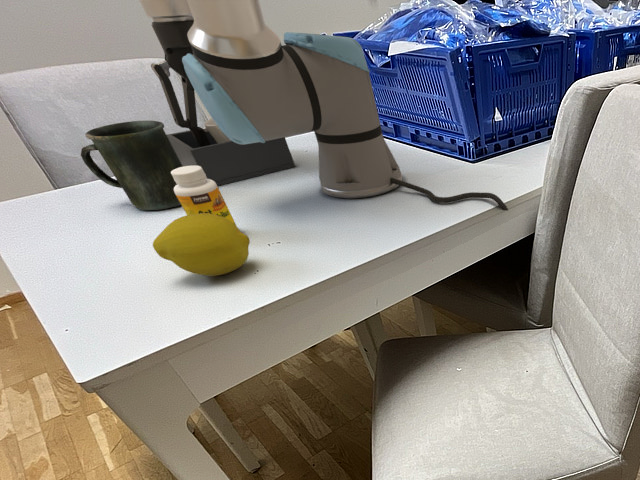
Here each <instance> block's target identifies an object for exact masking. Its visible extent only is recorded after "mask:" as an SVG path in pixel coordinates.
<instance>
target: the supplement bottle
mask: <svg viewBox="0 0 640 480" xmlns="http://www.w3.org/2000/svg"><path fill="white" fill-rule="evenodd" d="M171 174H172V176H173V178H174V181H175V182H176V184H177V185H176V186H175V187H174V192H175V194H176V196H177V198H178V200H179V202H180V203H181V205H180V206H181V207H182V209H183V211H184V212H185V215H191V214H200V213H209V214H215V215H218V216H222V217H224V218H226V219H228V220H230V221H231V222H232V223H234V224H235V225H236V226H237V224H236V221H235V220H234V218H233V216H232V214H231V211H230V209H229V207H228V205H227V203H226V201H225V199H224V197H223V195H222V192H221V191H220V188H219V186H217V184H216V183H215V182H214V181H213V180H211V179H207V177H206V174H205V173H204V171H203V169H202V167H201V166H196V165H193V166H184V167H180V168H177V169H174V170H172V171H171Z"/></svg>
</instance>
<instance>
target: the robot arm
mask: <svg viewBox="0 0 640 480" xmlns="http://www.w3.org/2000/svg"><path fill="white" fill-rule="evenodd" d="M139 2H140V4H141V6H142V9H143V10H144V13H145V15H146V16H147V17H148V18H150V19H152V22H151V27H152V30H153V31H154V33H155V36H156V38H157V40H158V42H159V44H160V46H161V49H162V50H163V54H164V60H162V61H161V62H158V63H151V64H150V68H151V70H152V71H153V72H154V74H155V75H156V76H157V78H158V79H159V83H160V85H161V87H162V91H163V93H164V97H165V99H166V102H167V104H168V107H169V110H170V112H171V115H172V118H173V121H174V123H175V125H176V126H177V127H180V128H184V129H188V130H190V131H191V133H192V135H193V137H194V139H195V141H196V143H197V144H198V145H199V146H200V147H204V146H208V145H211V144H210V142H209V140H208V138H207V136H206V134H205V132H204V129H203V128H204V127H201V126H198V115H197V104H196V95H195V94H197V96H198V98H199V100H200V101H201V103H202V105H203V106H204V109H206V111H207V112H208V114H209V116H210V118H213V120H214V121H215V123H216V124H217V125H218V127H219V128H220V129H221V131H222V132H223V133H224V134H225V135H226V136H227V137H228V138H229V139H230V140H232V141H233V142H235V143H237V144H243V145H244V144H251V143H257V142H261V143H265V141H269V140H273V139H278V138H283V137H285V138H287V137H292V136H296V135H300V134H301V135H302V134H306V133H310V132H314V135H315V138H316V142H317V146H318V179H319V184H320V186H321V187H320V188H321V190H322V192H323V194H325V195H327V196H330V197H334V198H338V199H361V198H370V197H375V196H379V195H383V194H386V193H389V192H391V191H393V190H395V189H397V188H398V187H399V186H400V187H403V188H406V189H409V190H412V191H415V192H419V193H421V194H424V195H425V196H427V197H429V199H430V200H432V201H433V202H435V203H441V204H447V203H455V202H459V201H463V200H467V199H490V200H492V201H494V202H495V203H496V204H497V205H498V206H499V208H500V209H501V210H502V211H509V208H508V207H507V205H506V203H505V202H504V201H503V200H502V199H501V198H500V197H499V196H498V195H496V194H494V193H493V192H479V191H478V192H475V191H472V192H471V191H470V192H465V193H460V194H455V195H452V196H437V195H435V193H433V192H432V191H431V190H429V189H427V188H424V187H421V186H418V185H416V184H413V183H410V182H406V181H404V180H403V175H402V172H401V168H400V166H399V164H398V163H397V161H396V159H395V157H394V155H393V153H392V151H391V150H390V147H389V146H388V143H387V142H386V139H385V138H384V134H383V131H382V125H381V120H380V116H379V112H378V107H377V103H376V99H375V94H374V90H373V85H372V81H371V75H370V73H371V71H370V69H369V67H368V64H367V60H366V57H365V53H364V49H363V47H362V45H361V44H360V42H358V41H357V40H356V39H354V37H353V38H352V37H348V36H339V35H330V34H321V33H320V34H319V33H318V34H317V33H307V32H292V31H291V32H289V31H286V32H284V33H283V43H284V44H282V41H281V39H280V37H279V36H278V35H277V33H275V32H274V31H273V30H272V29H271V28H270V27H269V26H267V24H266V23H265V20H264V16H263V11H262V7H261V4H260V0H139ZM170 69H171V70H173V71H174V72H175V73H176V74H177V75H178V76H180V82H181V86H182V93H183V102H184V113H185V118H184V115H183V112H182V109H181V107H180V104H179V100H178V97H177V95H176V92H175V89H174V86H173V83H172V81H171V79H170V77H171V71H170Z"/></svg>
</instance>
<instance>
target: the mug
mask: <svg viewBox="0 0 640 480" xmlns="http://www.w3.org/2000/svg"><path fill="white" fill-rule="evenodd" d="M164 128H165V124H164V123H163V122H161V121H158V120H133V121H124V122H117V123H112V124H111V123H110V124H107V125H102V126H99V127H95V128H92V129H89V130H88V131H86V132H85V137H86V139H88V140H91V142H92V143H93V144H88V145H86V146H84V147H82V148H81V151H80V157H81V159H82V162H83V163H84V164H85V165H86V167H87V168H88V169H89V170H90V172H92V174H93V175H95V176H96V177H97V178H98V179H99V180H100V181H102V182H103V183H104V184H106V185H108V186H111V187H113V188H118V189H122V190H123V192H124V193H125V195H126V197H127V198H128V200H129V201H130V203H131V204H132V206H134V207H135V208H137V209H138V210H143V211H158V210H166V209H171V208H175V207H178V206H182V205H181V203H180V202H179V200H178V198H177V196H176V194H175V192H174V187H175V186H176V185H177V184H176V182H175V181H174V178H173V176H172V174H171V171H172V170H174V169H177V168H180V167H183V166H182V164H181V162H180V160H179V158H178V156H177V154H176V152H175V150H174V149H173V147H172V145H171V143H170V141H169V139H168V137H167V133H166V132H165V129H164ZM93 151H94V152H95V151H98V152H99V155H101V157H102V159H103V160H104V162H105V164H106V165H107V167H108V168H109V170H110V171H111V173H112V174H113V176H114V178H113V177H111V176H110V175H108V174H107V173H106V172H105V171H104V170H103V169H101V167H100V166H99V165H98V164H97V163H96V162H95V161H94V159H93V157H92V155H91V152H93Z"/></svg>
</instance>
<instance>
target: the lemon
mask: <svg viewBox="0 0 640 480" xmlns="http://www.w3.org/2000/svg"><path fill="white" fill-rule="evenodd" d="M235 224H236V223H235ZM235 224H234V223H232V222H231V221H230V220H228V219H226V218H224V217H222V216H218V215H215V214H209V213H200V214H191V215H187V214H185V215H183V216H180V217H178V218H175V219H174V220H173V221H172V222H170V223H169V224H167V226H165V228H163V230H162V231H161V232H160V233H159V234H158V235H157V236H156V237H155V239H154V240H153V242H152V248H153V249H154V251H155V252H156V254H157V255H158V256H159V257H160V258H162V259H164V260H167V261H170V262H172V263H173V264H174V265H176V266H177V267H179V268H180V269H182V270H184V271H186V272H188V273H191V274H196V275H200V276H208V277H209V276H213V277H215V276H222V275H226V274H229V273H232V272H233V271H235V270H238V269H239V268H240V267H242V266H243V265H244V264H245V263H246V262H247V260H248V258H249V246H250V243H251V239H250V238H249V236H248V235H247V234H245V233H243V232H242V231H241V230H240V228H238V226H237V224H236V225H235Z"/></svg>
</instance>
